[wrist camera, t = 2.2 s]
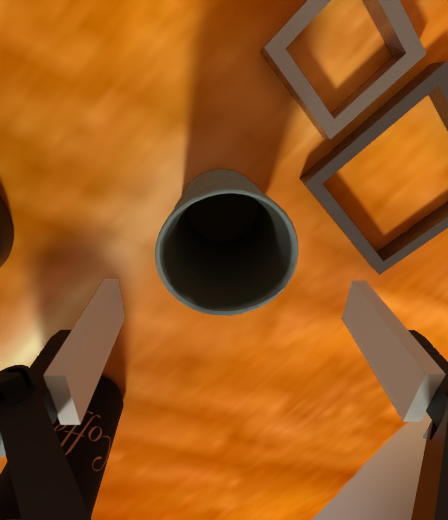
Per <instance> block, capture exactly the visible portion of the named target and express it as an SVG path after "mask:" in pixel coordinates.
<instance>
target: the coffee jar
mask: <svg viewBox="0 0 448 520" xmlns="http://www.w3.org/2000/svg"><path fill="white" fill-rule="evenodd" d="M122 409H123V399H122V395H121V393H120V390H119V388H118V387H117V385H116V384H115V383H114V382H112V381H111V380H110V379H108V378H106V377H104V376H102V375H101V377H100V379H99V381H98V384H97V386H96V389H95V391H94V393H93V396H92V398H91V400H90V403H89V405H88V408H87V410H86V412H85V415H84V417H83V420H82V422H81V424H80V425H61V424H60V421H59V419H58V416H57V417H56V419H55V421H54V423H53V426H54V429H55V431H56V434H57V436H58V439H59V441H60V444H61V446H62V449H63V451H64V454H65V456H66V458H67V461H68V463H69V466H70V468H71V471H72V473H73V476H74V478H75V481H76V483H77V486H78V488H79V491H80V493H81V495H82V498H83V500H84V503H85V505H86V508H87V510H88V513H89V515H90V518H91V515H92V512H93V508H94V505H95V501H96V498H97V494H98V491H99V488H100V484H101V481H102V477H103V474H104V470H105V467H106V464H107V460H108V457H109V453H110V450H111V446H112V443H113V440H114V436H115V433H116V429H117V426H118V422H119V419H120V416H121V412H122ZM0 520H22V519H21V515H20V511H19V507H18V503H17V499H16V494H15V490H14V486H13V482H12V478H11V474H10V470H9V465H8V462H7V464H6V465H5V467H4V469H3V471H2V472H1V474H0Z"/></svg>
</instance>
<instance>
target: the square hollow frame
mask: <svg viewBox="0 0 448 520" xmlns="http://www.w3.org/2000/svg"><path fill="white" fill-rule="evenodd" d="M427 95H429V97H430V98H431V100H432V102H433V104H434V106H435V108H436V110H437V112H438V114H439V116H440V117H441V119H442V121H443V123H444V125H445V127H446V129H447V131H448V63H447V61H445V62H439V63H434V64H430V65H429V66H428V67H427V68H426V69H424V70H423V71H422V72H421V73H420V74H419V75H418V76H416V77H415V78H414V79H413V80H412V81H411V82H410V83H408V84H407V85H406V86H405V87H404V88H403V89H402V90H400V91H399V92H398V93H397V94H396V95H395V96H394V97H392V98H391V99H390V100H389V101H388V102H387V103H386V104H384V105H383V106H382V107H381V108H380V109H379V110H378V111H376V112H375V113H374V114H373V115H372V116H371V117H370V118H368V119H367V120H366V121H365V122H364V123H363V124H362V125H360V126H359V127H358V128H357V129H356V130H355V131H354V132H352V133H351V134H350V135H349V136H348V137H347V138H346V139H344V140H343V141H342V142H341V143H340V144H339V145H338V146H336V147H335V148H334V149H333V150H332V151H331V152H330V153H328V154H327V155H326V156H325V157H324V158H323V159H322V160H320V161H319V162H318V163H317V164H316V165H315V166H314V167H312V168H311V169H310V170H309V171H308V172H307V173H306V174H304V175H303V176H302V177H301V178H300V180H301V181H302V182H303V183H304V185H305V186H306V187H307V188H308V189H309V191H310V192H311V193H312V194H313V196H314V197H315V198H316V199H317V201H318V202H319V203H320V204H321V205H322V207H323V208H324V209H325V210H326V212H327V213H328V214H329V215H330V217H331V218H332V219H333V220H334V221H335V223H336V224H337V225H338V226H339V228H340V229H341V230H342V231H343V232H344V234H345V235H346V236H347V237H348V239H349V240H350V241H351V242H352V244H353V245H354V246H355V247H356V248H357V250H358V251H359V252H360V253H361V255H362V256H363V257H364V258H365V259H366V261H367V262H368V263H369V264H370V266H371V267H372V268H373V269H374V270H375V271H376V272H377V273H378V274H379V275H380V274H381V273H383V272H384V271H386V270H387V269H388V268H390V267H391V266H393V265H394V264H396V263H397V262H399V261H400V260H402V259H403V258H404V257H406V256H407V255H409V254H410V253H412V252H413V251H415V250H416V249H418V248H419V247H420V246H422V245H423V244H425V243H426V242H428V241H429V240H431V239H432V238H434V237H435V236H436V235H438V234H439V233H441V232H442V231H444V230H445V229H447V228H448V202H446V203H445V204H443V205H442V206H441V207H439V208H438V209H436V210H435V211H434V212H432V213H431V214H429V215H428V216H427V217H425V218H424V219H422V220H421V221H420V222H418V223H417V224H415V225H414V226H413V227H411V228H410V229H408V230H407V231H406V232H404V233H403V234H401V235H400V236H399V237H397V238H396V239H394V240H393V241H392V242H390V243H389V244H388V245H386V246H385V247H383V248H382V249H381V250H379V251H378V252H376V251H375V250H374V249H373V248H372V246H371V245H370V244H369V242H368V241H367V240H366V239H365V237H364V236H363V235H362V234H361V232H360V231H359V230H358V228H357V227H356V226H355V225H354V223H353V222H352V221H351V220H350V218H349V217H348V216H347V214H346V213H345V212H344V211H343V209H342V208H341V207H340V205H339V204H338V203H337V202H336V200H335V199H334V198H333V197H332V195H331V194H330V193H329V191H328V190H327V189H326V188H325V186H324V185H323V183H324V182H325V181H326V180H327V179H329V178H330V177H331V176H332V175H333V174H334V173H336V172H337V171H338V170H339V169H340V168H342V167H343V166H344V165H345V164H346V163H347V162H349V161H350V160H351V159H352V158H353V157H355V156H356V155H357V154H358V153H359V152H360V151H362V150H363V149H364V148H365V147H366V146H368V145H369V144H370V143H371V142H372V141H373V140H375V139H376V138H377V137H378V136H379V135H381V134H382V133H383V132H384V131H385V130H387V129H388V128H389V127H390V126H391V125H392V124H394V123H395V122H396V121H397V120H398V119H400V118H401V117H402V116H403V115H404V114H405V113H407V112H408V111H409V110H410V109H411V108H413V107H414V106H415V105H416V104H417V103H418V102H420V101H421V100H422V99H423V98H424V97H426V96H427Z"/></svg>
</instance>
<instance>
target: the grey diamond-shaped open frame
mask: <svg viewBox="0 0 448 520" xmlns="http://www.w3.org/2000/svg"><path fill="white" fill-rule="evenodd" d="M330 1H331V0H307V1H306V2H305V4H304V5H303V6H302V7H301V8H300V9H299V10H298V11H297V12H296V13H295V14H294V16H293V17H292V18H291V19H290V20H289V21H288V22H287V23H286V24H285V25H284V26H283V27H282V29H281V30H280V31H279V32H278V33H277V34H276V35H275V36H274V37H273V38H272V39H271V41H270V42H269V43H268V44H267V45H266V46H265V47H264V48H263V49H262V50H261V53H262V54H263V55H264V57H265V58H266V60H267V61H268V62H269V64H270V65H271V67H272V68H273V69H274V71H275V72H276V73H277V75H278V76H279V78H280V79H281V80H282V82H283V83H284V84H285V86H286V87H287V89H288V90H289V91H290V93H291V94H292V95H293V97H294V98H295V100H296V101H297V102H298V104H299V105H300V106H301V108H302V109H303V111H304V112H305V113H306V115H307V116H308V117H309V119H310V120H311V122H312V123H313V124H314V126H315V127H316V128H317V130H318V131H319V133H320V134H321V135H322V137H323V138H326V139H330V140H331V139H332V138H333V137H334V136H335V135H336V134H337V133H339V132H340V131H341V130H342V129H343V128H344V127H345V126H346V125H348V124H349V123H350V122H351V121H352V120H353V119H354V118H355V117H357V116H358V115H359V114H360V113H361V112H362V111H363V110H364V109H366V108H367V107H368V106H369V105H370V104H371V103H372V102H373V101H375V100H376V99H377V98H378V97H379V96H380V95H381V94H382V93H383V92H385V91H386V90H387V89H388V88H389V87H390V86H391V85H392V84H394V83H395V82H396V81H397V80H398V79H399V78H400V77H401V76H403V75H404V74H405V73H406V72H407V71H408V70H409V69H410V68H412V67H413V66H414V65H415V64H416V63H417V62H418V61H419V60H421V59H422V58H423V57H424V56H425V55H426V52H425V50H424V48H423V46H422V44H421V42H420V40H419V38H418V36H417V34H416V32H415V30H414V28H413V26H412V24H411V22H410V20H409V18H408V16H407V14H406V12H405V10H404V8H403V6H402V4H401V2H400V0H362V1H363V3H364V5H365V6H366V8H367V10H368V12H369V14H370V15H371V17H372V19H373V21H374V23H375V25H376V26H377V28H378V30H379V32H380V34H381V36H382V37H383V39H384V41H385V43H386V45H387V46H388V48H389V50H390V52H391V54H392V56H393V57H392V58H391V59H390V60H389V61H388V62H387V63H386V64H385V65H383V66H382V67H381V68H380V69H379V70H378V71H377V72H376V73H375V74H374V75H373V76H372V77H370V78H369V79H368V80H367V81H366V82H365V83H364V84H363V85H362V86H361V87H360V88H358V89H357V90H356V91H355V92H354V93H353V94H352V95H351V96H350V97H349V98H348V99H347V100H345V101H344V102H343V103H342V104H341V105H340V106H339V107H338V108H337V109H336V110H335V111H333V112H332V113H331V114H330V112H329V111H328V109H327V108H326V107H325V105H324V104H323V102H322V101H321V99H320V98H319V96H318V95H317V93H316V92H315V91H314V89H313V88H312V86H311V85H310V83H309V82H308V80H307V79H306V77H305V76H304V75H303V73H302V72H301V70H300V69H299V67H298V66H297V64H296V63H295V62H294V60H293V59H292V57H291V56H290V54H289V53H288V51H287V50H286V47H287V46H288V45H289V44H290V43H291V42H292V41H293V40H294V39H295V38H296V37H297V36H298V35H299V33H300V32H301V31H302V30H303V29H304V28H305V27H306V26H307V25H308V24H309V23H310V22H311V21H312V20H313V19H314V18H315V17H316V15H317V14H318V13H319V12H320V11H321V10H322V9H323V8H324V7H325V6H326V5H327V4H328V3H329V2H330Z"/></svg>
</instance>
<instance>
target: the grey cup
mask: <svg viewBox="0 0 448 520" xmlns="http://www.w3.org/2000/svg"><path fill="white" fill-rule="evenodd" d="M297 259H298V240H297V235H296V231H295V228H294V226H293V223H292V221H291V220H290V218H289V217H288V215H287V214H286V212H285V211H284V210H283V209H282V208H281V207H280V206H279V205H278V204H276V203H275V202H274V201H273V200H271V199H270V198H269V197H268V196H267V195H266V194H264V193H263V192H261V190H260V189H259V188H258V187H257V186H256V185H255V184H253V183H252V182H251V181H250V180H249V179H248V178H247V177H245V176H244V175H242V174H240V173H238V172H236V171H233V170H228V169H215V170H211V171H206V172H204V173H202V174H200V175H199V176H197V177H196V178H195V179H193V180H192V181H191V182H190V184H189V185H188V186H187V188H186V189H185V191H184V192H183V194H182V196H181V198H180V199H179V201H178V202H177V204H176V206H175V209H174V210H173V211H172V213H171V214H170V216H169V217H168V218H167V220H166V221H165V223H164V225H163V226H162V228H161V230H160V232H159V235H158V239H157V242H156V248H155V260H156V266H157V270H158V273H159V275H160V277H161V280H162V282H163V284H164V285H165V287H166V288H167V289H168V291H169V292H170V293H171V294H172V295H173V296H174V297H175V298H176V299H177V300H179V301H180V302H181V303H183V304H184V305H186V306H188V307H190V308H192V309H194V310H197V311H199V312H202V313H206V314H211V315H225V316H231V315H237V314H242V313H245V312H248V311H252V310H255V309H257V308H260V307H262V306H264V305H265V304H267V303H269V302H270V301H271V300H273V299H274V298H275V297H277V296H278V295H279V294H280V293H281V292H282V290H283V289H284V288H285V287H286V286H287V284H288V283H289V281H290V280H291V278H292V276H293V273H294V271H295V268H296V264H297Z"/></svg>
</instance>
